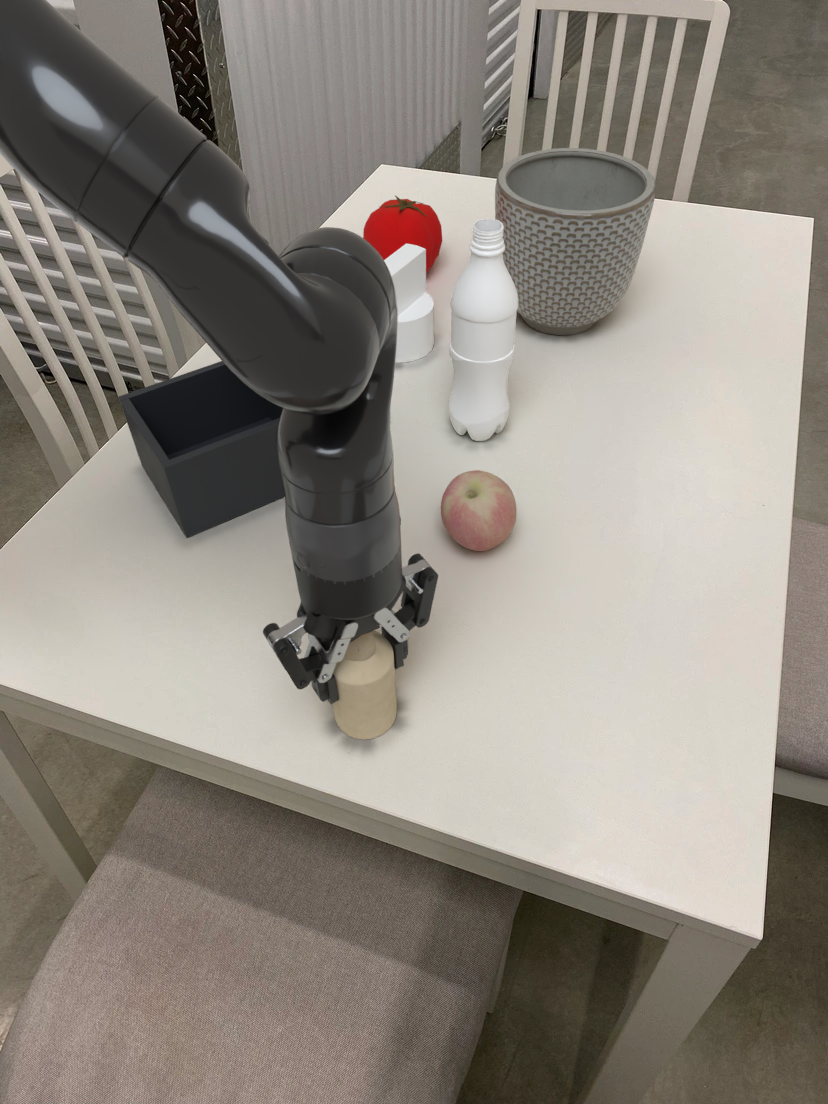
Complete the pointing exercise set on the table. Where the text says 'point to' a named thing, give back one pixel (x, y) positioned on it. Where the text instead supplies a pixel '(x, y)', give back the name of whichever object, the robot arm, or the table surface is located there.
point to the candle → (366, 687)
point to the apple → (478, 510)
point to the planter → (572, 233)
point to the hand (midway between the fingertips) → (361, 677)
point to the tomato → (404, 228)
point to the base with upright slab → (412, 303)
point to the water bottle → (482, 336)
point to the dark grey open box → (206, 445)
